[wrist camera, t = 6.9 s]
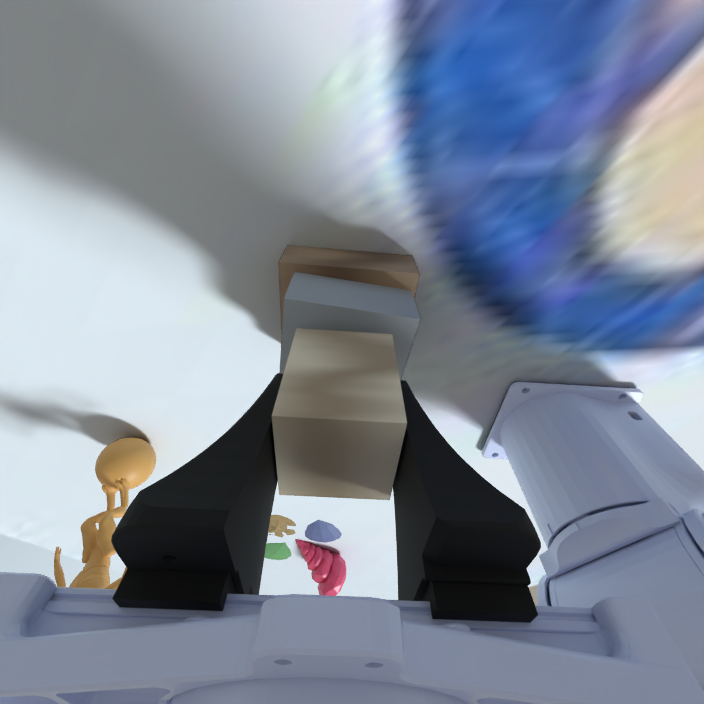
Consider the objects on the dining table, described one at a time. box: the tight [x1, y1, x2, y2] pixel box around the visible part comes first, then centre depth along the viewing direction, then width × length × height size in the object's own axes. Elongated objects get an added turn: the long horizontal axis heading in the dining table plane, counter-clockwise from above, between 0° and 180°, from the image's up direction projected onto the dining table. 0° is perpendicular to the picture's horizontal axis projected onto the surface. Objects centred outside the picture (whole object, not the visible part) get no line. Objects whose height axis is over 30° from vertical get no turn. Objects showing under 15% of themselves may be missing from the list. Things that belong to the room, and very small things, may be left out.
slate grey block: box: [280, 272, 420, 380], centre depth 18 cm, size 6×6×3 cm
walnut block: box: [279, 245, 420, 329], centre depth 20 cm, size 7×7×3 cm
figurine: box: [54, 437, 156, 589], centre depth 24 cm, size 8×6×12 cm
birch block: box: [272, 328, 407, 500], centre depth 13 cm, size 4×4×5 cm
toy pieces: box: [264, 515, 346, 596], centre depth 36 cm, size 12×11×4 cm
